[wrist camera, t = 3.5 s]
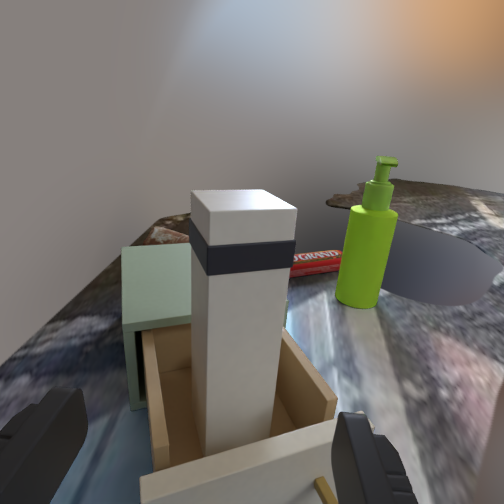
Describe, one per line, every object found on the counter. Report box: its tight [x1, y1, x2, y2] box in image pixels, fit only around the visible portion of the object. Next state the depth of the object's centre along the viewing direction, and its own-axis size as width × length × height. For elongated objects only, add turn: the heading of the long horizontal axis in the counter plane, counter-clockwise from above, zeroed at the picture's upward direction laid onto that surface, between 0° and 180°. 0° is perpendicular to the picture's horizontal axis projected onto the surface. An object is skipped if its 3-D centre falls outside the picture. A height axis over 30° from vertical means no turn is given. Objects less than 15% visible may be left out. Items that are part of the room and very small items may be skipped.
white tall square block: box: [189, 190, 297, 457], centre depth 21 cm, size 5×5×17 cm
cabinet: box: [121, 243, 289, 411], centre depth 34 cm, size 16×14×9 cm
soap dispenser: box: [335, 156, 398, 309], centre depth 43 cm, size 6×7×20 cm
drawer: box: [139, 323, 375, 504], centre depth 22 cm, size 19×12×7 cm, turn 20°
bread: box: [143, 227, 189, 246], centre depth 51 cm, size 6×19×6 cm, turn 67°
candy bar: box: [289, 250, 343, 278], centre depth 54 cm, size 16×4×3 cm, turn 114°
